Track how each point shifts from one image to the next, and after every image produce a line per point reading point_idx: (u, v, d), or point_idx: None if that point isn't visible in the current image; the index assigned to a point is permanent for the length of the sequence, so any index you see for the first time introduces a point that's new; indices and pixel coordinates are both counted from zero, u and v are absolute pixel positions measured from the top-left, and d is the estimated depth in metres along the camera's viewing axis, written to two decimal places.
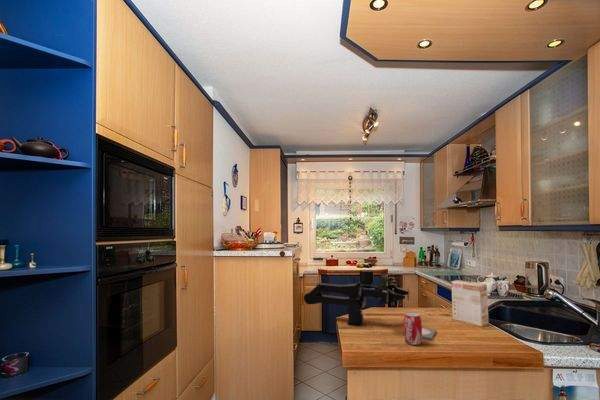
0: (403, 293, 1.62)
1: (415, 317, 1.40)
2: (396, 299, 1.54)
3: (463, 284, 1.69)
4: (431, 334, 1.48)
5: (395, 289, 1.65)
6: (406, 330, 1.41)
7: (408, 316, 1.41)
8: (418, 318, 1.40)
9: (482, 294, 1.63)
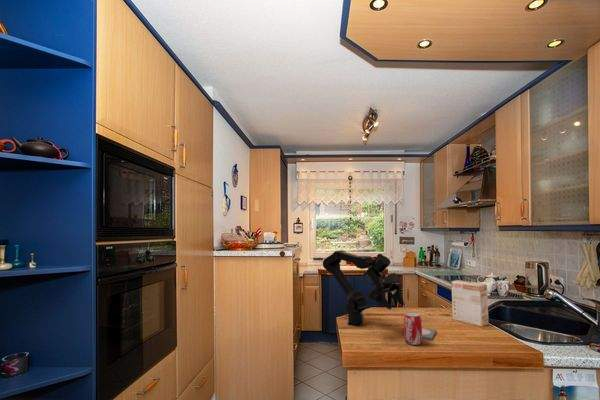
0: (399, 301, 1.53)
1: (415, 317, 1.40)
2: (382, 303, 1.48)
3: (463, 284, 1.69)
4: (431, 334, 1.48)
5: (397, 292, 1.55)
6: (406, 330, 1.41)
7: (408, 316, 1.41)
8: (418, 318, 1.40)
9: (482, 294, 1.63)
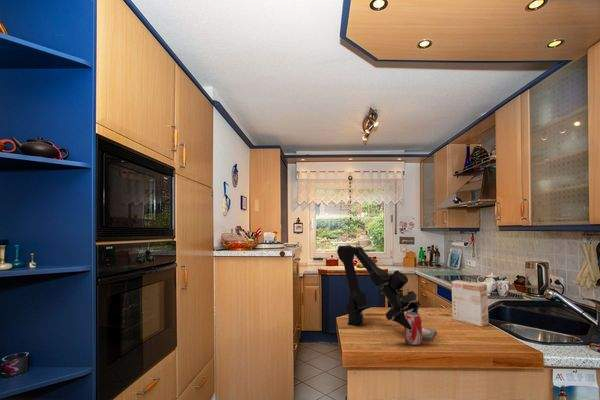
0: None
1: (415, 317, 1.40)
2: (402, 323, 1.41)
3: (463, 284, 1.69)
4: (431, 334, 1.48)
5: (413, 311, 1.47)
6: (406, 330, 1.41)
7: (408, 316, 1.41)
8: (418, 318, 1.40)
9: (482, 294, 1.63)
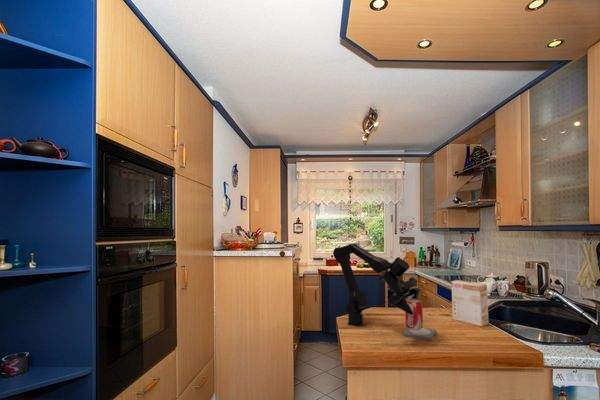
0: None
1: (417, 302, 1.42)
2: (403, 309, 1.43)
3: (463, 284, 1.69)
4: (431, 334, 1.48)
5: (414, 297, 1.49)
6: (407, 315, 1.43)
7: (410, 302, 1.43)
8: (419, 304, 1.42)
9: (482, 294, 1.63)
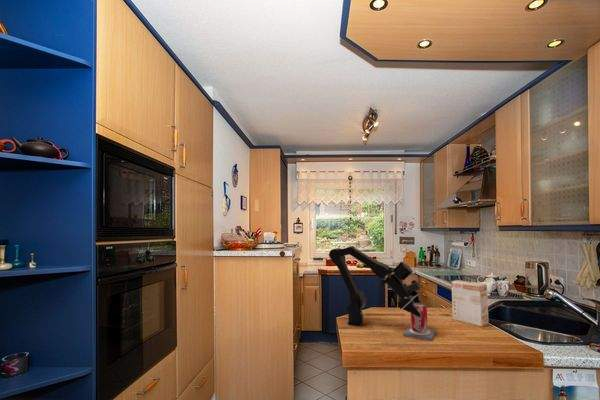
0: None
1: (423, 307, 1.50)
2: (411, 311, 1.49)
3: (463, 284, 1.69)
4: (431, 334, 1.48)
5: (416, 298, 1.58)
6: (415, 320, 1.50)
7: (416, 306, 1.50)
8: (425, 307, 1.51)
9: (482, 294, 1.63)
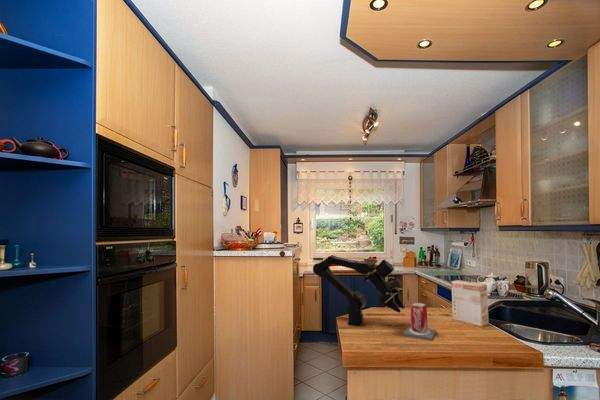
0: (399, 304, 1.62)
1: (423, 307, 1.50)
2: (392, 307, 1.54)
3: (463, 284, 1.68)
4: (431, 334, 1.48)
5: (396, 296, 1.64)
6: (415, 320, 1.50)
7: (416, 306, 1.50)
8: (425, 307, 1.51)
9: (482, 294, 1.63)
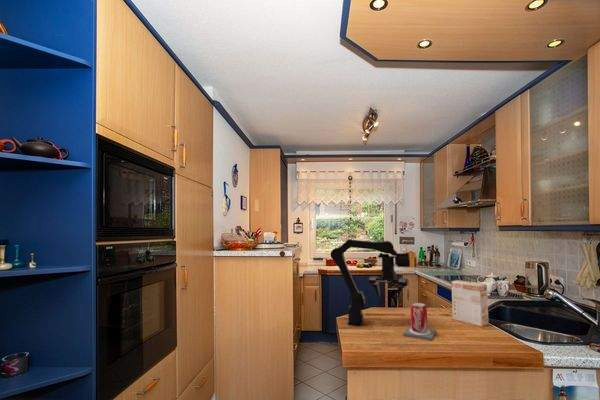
0: (379, 293, 1.67)
1: (423, 307, 1.50)
2: (400, 292, 1.62)
3: (463, 284, 1.68)
4: (431, 334, 1.48)
5: (378, 284, 1.69)
6: (415, 320, 1.50)
7: (416, 306, 1.50)
8: (425, 307, 1.51)
9: (482, 294, 1.63)
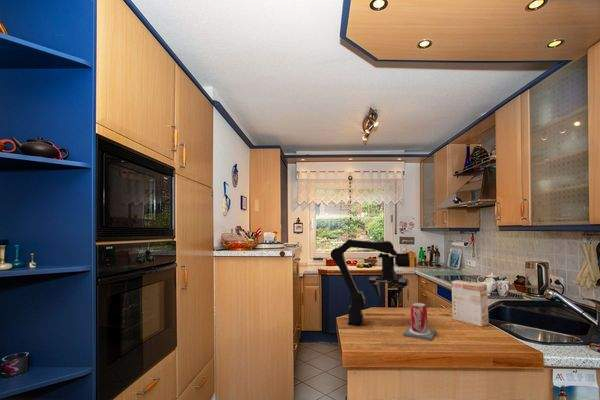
0: (379, 293, 1.67)
1: (423, 307, 1.50)
2: (400, 292, 1.62)
3: (463, 284, 1.68)
4: (431, 334, 1.48)
5: (378, 284, 1.69)
6: (415, 320, 1.50)
7: (416, 306, 1.50)
8: (425, 307, 1.51)
9: (482, 294, 1.63)
